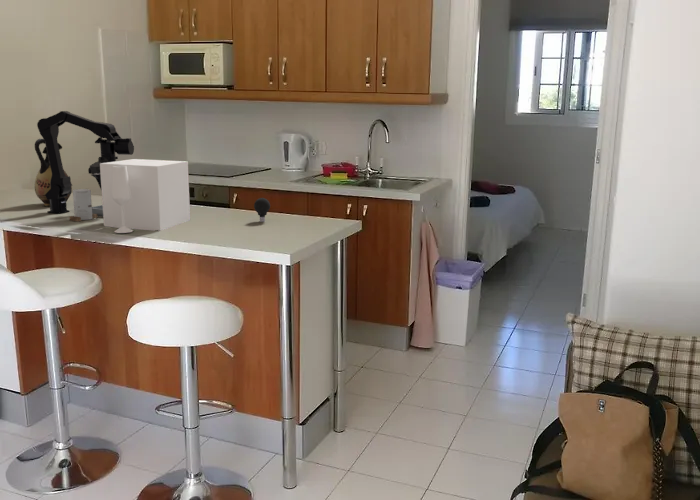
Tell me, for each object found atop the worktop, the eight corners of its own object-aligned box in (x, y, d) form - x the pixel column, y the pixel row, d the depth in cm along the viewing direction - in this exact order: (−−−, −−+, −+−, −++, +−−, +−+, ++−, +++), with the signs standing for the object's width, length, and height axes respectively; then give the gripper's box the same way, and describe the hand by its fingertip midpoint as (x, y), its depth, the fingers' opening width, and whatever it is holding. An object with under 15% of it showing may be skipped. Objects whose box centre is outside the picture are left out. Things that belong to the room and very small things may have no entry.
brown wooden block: (69, 220, 271) (69, 216, 270) (88, 216, 279) (88, 213, 279) (78, 221, 269) (78, 217, 268) (97, 217, 277) (97, 214, 277)
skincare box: (77, 220, 270) (75, 190, 268) (74, 219, 274) (71, 189, 271) (93, 219, 274) (91, 189, 271) (89, 217, 277) (87, 188, 275)
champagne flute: (113, 230, 253) (109, 165, 247) (132, 229, 255) (128, 165, 250) (115, 233, 247) (110, 167, 241) (134, 232, 249) (130, 167, 244)
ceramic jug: (60, 201, 318) (55, 137, 312) (79, 204, 310) (74, 138, 303) (25, 205, 305) (19, 138, 298) (44, 209, 296) (38, 140, 290)
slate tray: (87, 214, 284) (86, 207, 283) (112, 210, 296) (112, 203, 295) (111, 217, 278) (110, 210, 277) (136, 212, 290) (136, 206, 289)
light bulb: (273, 221, 273) (272, 197, 271) (266, 224, 267) (265, 199, 265) (258, 220, 275) (258, 196, 273) (251, 223, 269) (251, 198, 267)
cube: (190, 222, 273) (187, 161, 268) (160, 231, 253) (157, 166, 248) (137, 218, 280) (133, 158, 275) (104, 227, 260) (99, 163, 255)
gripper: (76, 154, 278) (79, 192, 282) (109, 156, 270) (112, 195, 274) (97, 152, 288) (100, 189, 292) (130, 155, 280) (132, 192, 283)
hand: (110, 191), depth 285 cm, fingers open, 9 cm apart
